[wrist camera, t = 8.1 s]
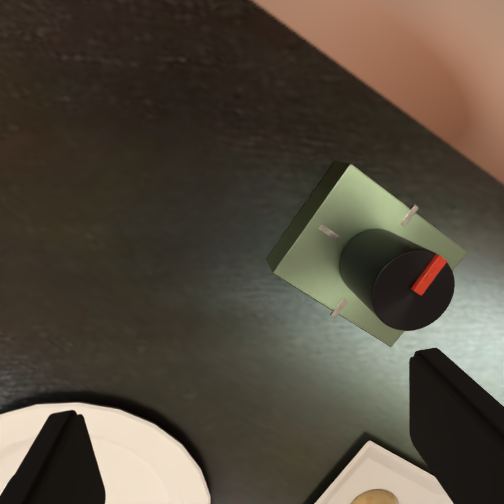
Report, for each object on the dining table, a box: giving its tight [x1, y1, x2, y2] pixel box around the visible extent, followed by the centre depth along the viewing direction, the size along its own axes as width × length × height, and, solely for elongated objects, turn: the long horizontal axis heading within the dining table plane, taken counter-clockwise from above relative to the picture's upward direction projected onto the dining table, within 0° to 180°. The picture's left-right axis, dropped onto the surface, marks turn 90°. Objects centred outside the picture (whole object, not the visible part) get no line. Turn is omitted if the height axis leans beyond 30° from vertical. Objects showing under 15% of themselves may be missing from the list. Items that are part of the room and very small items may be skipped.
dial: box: [340, 229, 455, 331], centre depth 21 cm, size 4×4×5 cm
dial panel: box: [266, 162, 467, 347], centre depth 25 cm, size 10×9×3 cm
